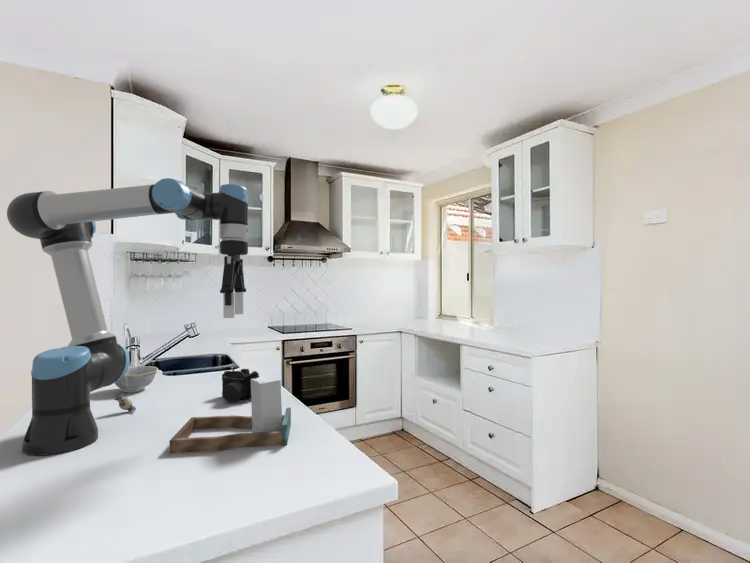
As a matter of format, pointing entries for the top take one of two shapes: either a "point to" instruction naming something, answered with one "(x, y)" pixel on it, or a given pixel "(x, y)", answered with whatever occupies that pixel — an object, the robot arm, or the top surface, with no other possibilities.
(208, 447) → the brown wooden frame
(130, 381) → the bowl
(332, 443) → the top surface
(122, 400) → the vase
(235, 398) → the camera
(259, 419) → the skincare box
